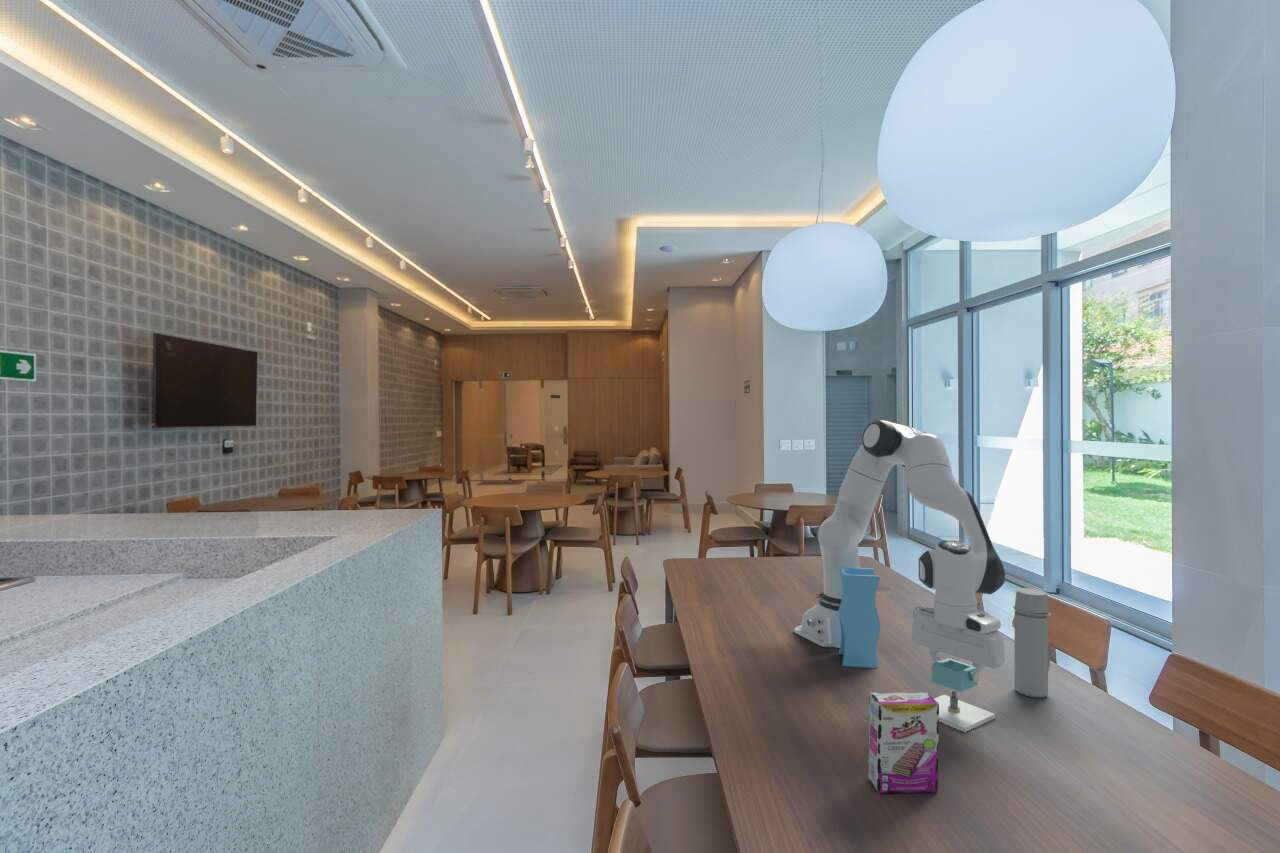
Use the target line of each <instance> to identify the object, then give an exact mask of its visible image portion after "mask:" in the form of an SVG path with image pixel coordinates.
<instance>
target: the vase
mask: <svg viewBox="0 0 1280 853" xmlns="http://www.w3.org/2000/svg"><path fill="white" fill-rule="evenodd" d="M839 569H840V575H841V580H842V590H843V593H842V600H841V604H840V607H839V610H838V615H839V620H840V625H841V644H840V648H838V655H842V657H843V658H842V664H841V665H842V667H851V668H852V667H854V668H866V669H868V668H869V669H878V668H880V664H879V658H878V656H879V655H878V640H879V634H880V631H881V621H880V617H879V615H878V610H877V604H876V601H877V600H876V596H877V589H878V585H879V583H880V579H881V576H880V575H875V568H869V567H868V568H867V567H860V568H849V567H842V568H839Z"/></svg>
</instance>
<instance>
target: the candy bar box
mask: <svg viewBox="0 0 1280 853" xmlns="http://www.w3.org/2000/svg"><path fill="white" fill-rule="evenodd" d="M868 698H869V701H868V702H869V704H868V705H869V706H868V707H869V708H868V709H869V711H868V714H869V715H868V765H867V766H868V769H867V770H868V772H867V773H868V776H867V778H868V780H869V782H870V783H871V784H872V786H873V788H874V789H875V791H876V792H877V793H878V794H906V793H907V794H911V793H913V794H914V793H916V794H917V793H938V790H939V787H938V786H939V785H938V784H939V782H938V781H939V740H940V739H939V738H940V737H939V734H940V733H939V731H940V730H939V729H940V725H939V724H940V722H939V703H938V702H937V701H936V700H934V698H933V697H932V696H931V694H929V693H928V692H869V697H868Z"/></svg>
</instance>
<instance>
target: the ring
mask: <svg viewBox="0 0 1280 853" xmlns="http://www.w3.org/2000/svg"><path fill="white" fill-rule="evenodd" d="M975 668H976V667H973V664H968V663H966V662H963V661H958V660H956V659H953V658H950V657H947V658H945V659H942V660H941V661H939V662H936V663H934V662H933V663H931V682H932V683H935V684H937V685H940V686H943V687H946V688H949V689H950V690H953V691H955V692H960V693H962V692H964V691H967V690H970V689H972V688H974V687H976V686H978V682H979V681H978V682H973V681H970V680H969V679H968V677H969V676H968V673H969V672H971V671H974V670H975Z"/></svg>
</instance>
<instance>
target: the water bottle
mask: <svg viewBox="0 0 1280 853" xmlns="http://www.w3.org/2000/svg"><path fill="white" fill-rule="evenodd" d="M1048 599H1049V598H1048V593H1047V592H1046V591H1044V590H1039V589H1036V588H1027V587H1024V588H1023V587H1022V588H1017V589H1016V592H1015V599H1014V600H1015V602H1014V603H1015V604H1014V606H1013V609H1014V689H1015V691H1017V692H1018V693H1019V694H1021V695H1023V696H1026V697H1029V698H1034V699H1036V698H1039V699H1040V698H1045V697H1047V696H1048V695H1049V672H1050V666H1051V656H1050V646H1049V617H1051V616H1052V614H1051V613H1050V607H1049V600H1048Z"/></svg>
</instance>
